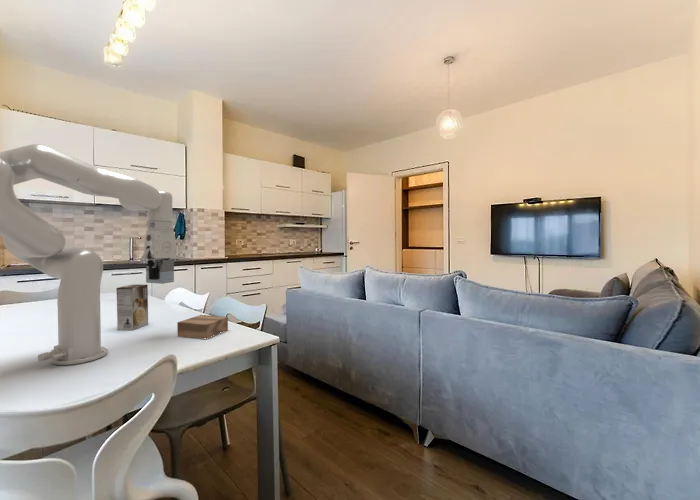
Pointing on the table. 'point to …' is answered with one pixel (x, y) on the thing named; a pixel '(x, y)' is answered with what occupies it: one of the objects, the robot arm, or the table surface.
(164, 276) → the block
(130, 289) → the coffee box
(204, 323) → the walnut stand
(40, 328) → the table surface
